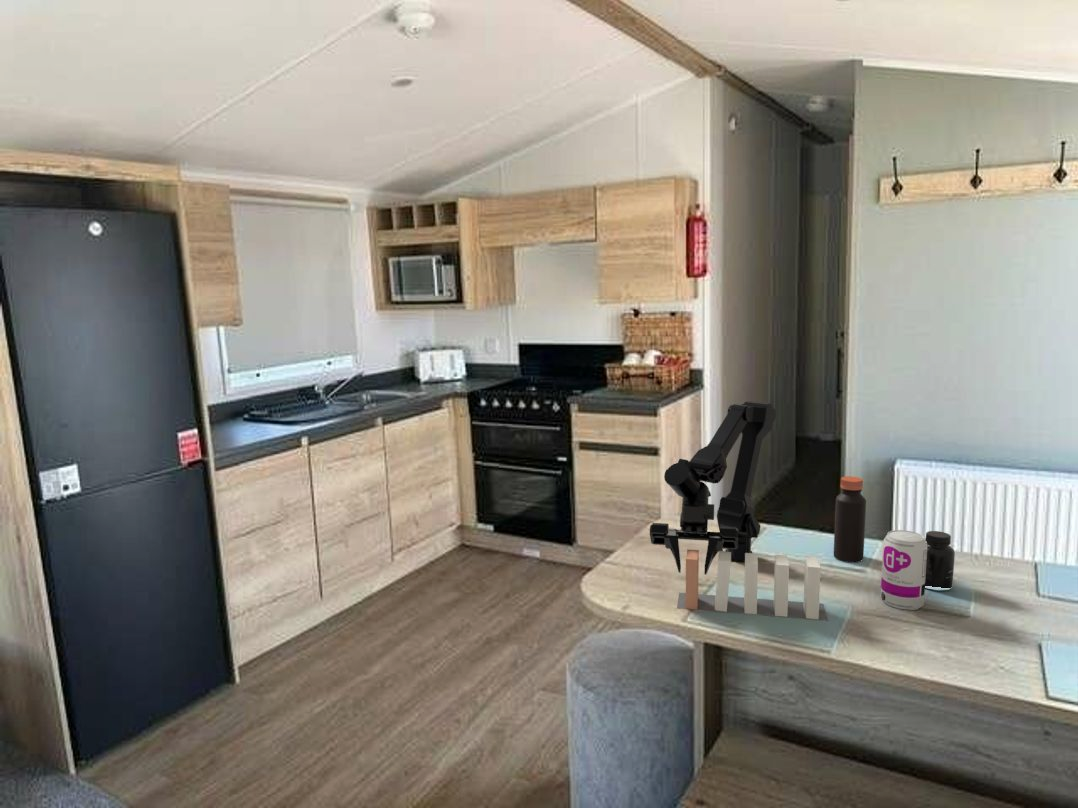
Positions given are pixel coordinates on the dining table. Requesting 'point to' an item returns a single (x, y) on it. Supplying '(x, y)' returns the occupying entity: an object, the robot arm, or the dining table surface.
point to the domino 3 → (781, 585)
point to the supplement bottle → (939, 560)
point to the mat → (763, 606)
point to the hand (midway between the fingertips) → (692, 572)
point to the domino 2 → (750, 583)
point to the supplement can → (903, 569)
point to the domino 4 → (811, 587)
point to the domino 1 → (723, 581)
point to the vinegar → (850, 521)
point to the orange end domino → (692, 578)
